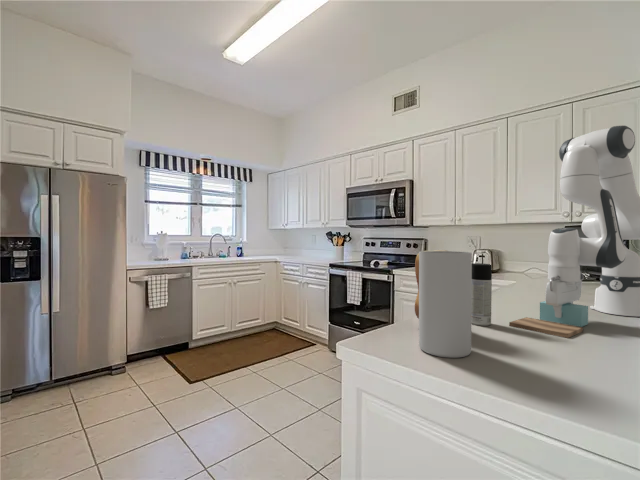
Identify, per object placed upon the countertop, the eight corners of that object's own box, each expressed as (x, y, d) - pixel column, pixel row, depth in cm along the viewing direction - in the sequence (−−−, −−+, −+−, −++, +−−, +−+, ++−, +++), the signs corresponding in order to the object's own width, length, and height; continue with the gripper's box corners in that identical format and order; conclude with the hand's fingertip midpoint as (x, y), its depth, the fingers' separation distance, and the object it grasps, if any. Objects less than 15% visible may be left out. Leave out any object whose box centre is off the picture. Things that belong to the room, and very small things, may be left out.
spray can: (486, 321, 114) (486, 263, 114) (495, 326, 107) (495, 264, 107) (466, 320, 115) (466, 263, 114) (473, 326, 108) (473, 264, 108)
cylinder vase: (408, 345, 88) (409, 251, 88) (446, 340, 93) (446, 250, 92) (442, 361, 76) (442, 253, 76) (482, 355, 81) (483, 252, 81)
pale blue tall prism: (547, 317, 120) (547, 300, 120) (588, 324, 110) (588, 306, 110) (539, 319, 116) (539, 302, 116) (581, 326, 107) (581, 308, 106)
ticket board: (526, 320, 115) (526, 316, 115) (582, 331, 102) (582, 326, 102) (509, 325, 108) (509, 321, 108) (567, 338, 95) (567, 333, 95)
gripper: (562, 278, 105) (561, 322, 105) (585, 274, 116) (585, 313, 116) (539, 276, 110) (539, 318, 110) (564, 272, 121) (564, 310, 121)
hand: (563, 315), depth 113 cm, fingers closed on pale blue tall prism, 6 cm apart
